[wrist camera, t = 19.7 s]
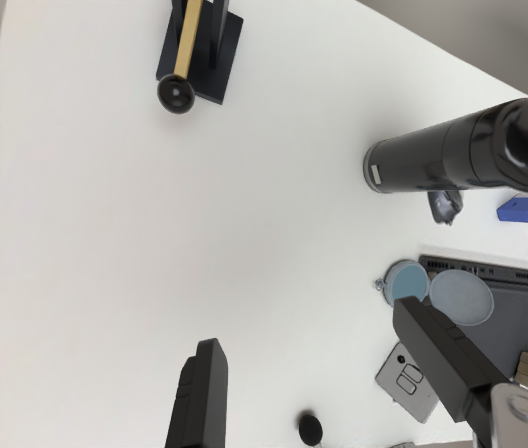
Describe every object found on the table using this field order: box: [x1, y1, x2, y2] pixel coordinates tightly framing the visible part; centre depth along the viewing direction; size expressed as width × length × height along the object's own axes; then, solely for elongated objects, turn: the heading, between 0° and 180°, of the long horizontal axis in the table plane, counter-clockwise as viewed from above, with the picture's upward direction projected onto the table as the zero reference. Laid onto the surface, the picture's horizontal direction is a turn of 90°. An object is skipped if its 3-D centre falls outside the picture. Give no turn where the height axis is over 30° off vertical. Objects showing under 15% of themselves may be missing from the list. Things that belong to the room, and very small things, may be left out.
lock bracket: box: [156, 0, 243, 105], centre depth 27 cm, size 12×9×15 cm
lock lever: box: [157, 0, 203, 114], centre depth 23 cm, size 14×4×4 cm, turn 164°
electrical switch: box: [376, 343, 440, 424], centre depth 45 cm, size 9×5×9 cm, turn 142°
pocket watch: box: [376, 260, 494, 326], centre depth 42 cm, size 10×11×15 cm
